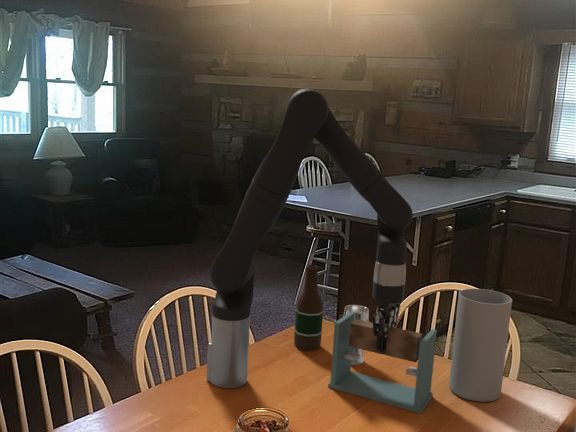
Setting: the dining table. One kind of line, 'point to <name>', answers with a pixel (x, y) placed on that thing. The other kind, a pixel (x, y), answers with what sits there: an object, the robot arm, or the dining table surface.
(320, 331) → the beer bottle
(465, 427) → the dining table surface
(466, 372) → the cylinder vase
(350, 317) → the shelf stand
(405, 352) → the walnut plank
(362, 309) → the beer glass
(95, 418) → the dining table surface
